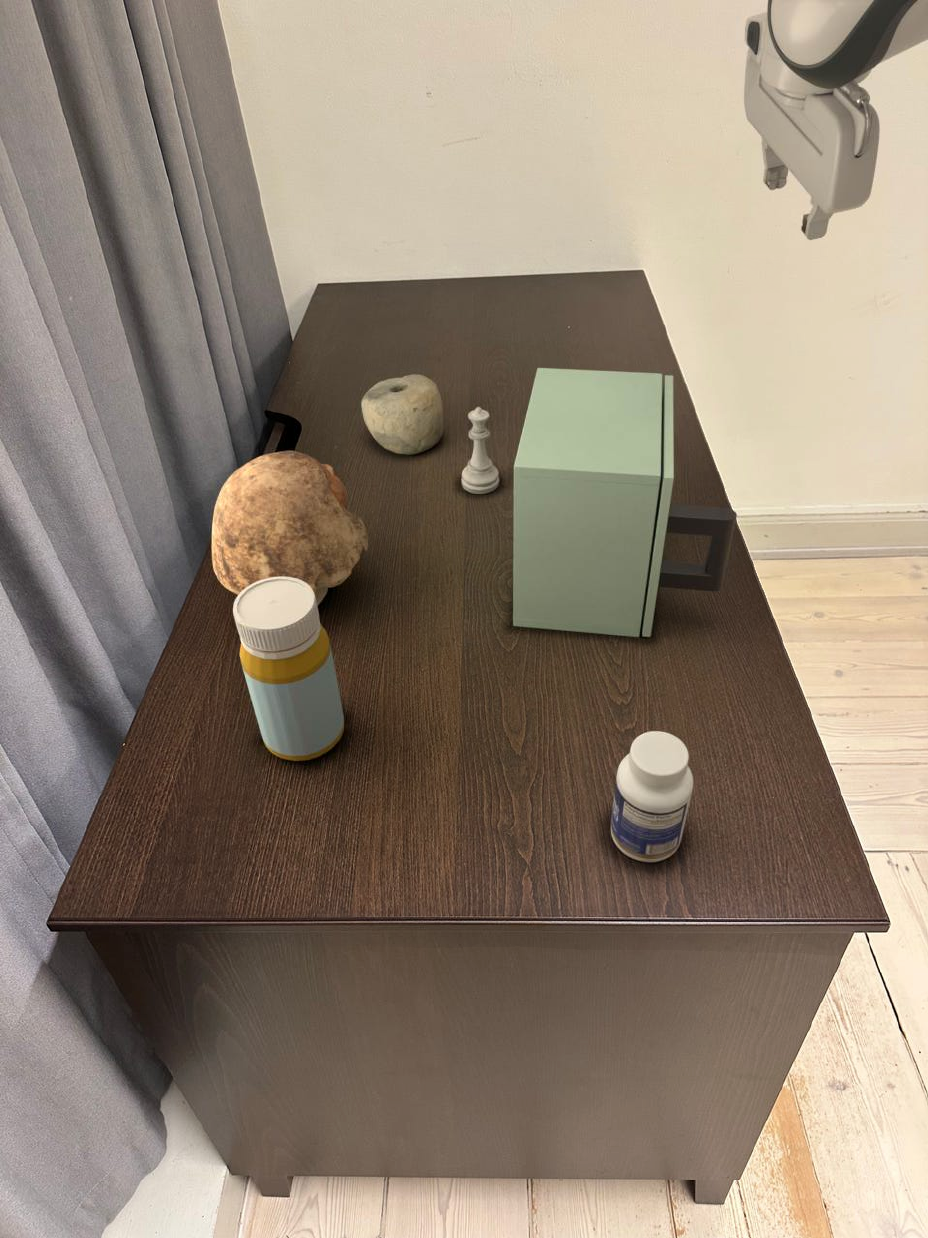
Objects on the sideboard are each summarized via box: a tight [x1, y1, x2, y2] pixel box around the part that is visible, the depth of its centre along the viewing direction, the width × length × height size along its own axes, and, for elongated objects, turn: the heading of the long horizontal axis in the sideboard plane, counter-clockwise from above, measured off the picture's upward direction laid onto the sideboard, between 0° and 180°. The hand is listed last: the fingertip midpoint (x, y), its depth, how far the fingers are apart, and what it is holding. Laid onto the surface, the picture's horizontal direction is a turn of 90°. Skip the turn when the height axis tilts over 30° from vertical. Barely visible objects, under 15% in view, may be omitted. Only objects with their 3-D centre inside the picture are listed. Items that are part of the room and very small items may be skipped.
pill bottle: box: [610, 730, 694, 863], centre depth 64 cm, size 5×5×10 cm
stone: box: [360, 373, 444, 456], centre depth 110 cm, size 10×10×10 cm
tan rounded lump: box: [211, 450, 369, 607], centre depth 85 cm, size 15×16×15 cm
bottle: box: [232, 577, 345, 762], centre depth 71 cm, size 7×7×15 cm
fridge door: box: [641, 374, 738, 638], centre depth 84 cm, size 7×18×18 cm, turn 170°
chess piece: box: [461, 406, 500, 495], centre depth 101 cm, size 4×4×10 cm
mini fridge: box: [512, 367, 663, 638], centre depth 85 cm, size 12×18×18 cm, turn 170°
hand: (792, 209), depth 84 cm, fingers open, 8 cm apart
